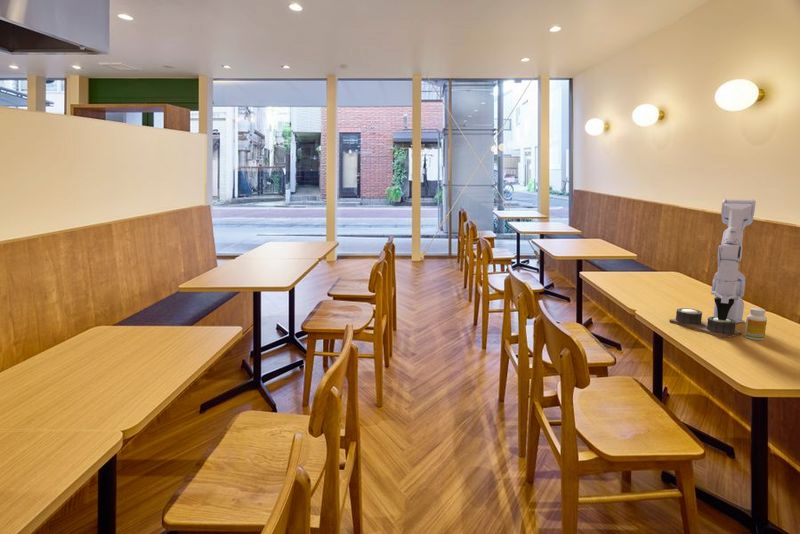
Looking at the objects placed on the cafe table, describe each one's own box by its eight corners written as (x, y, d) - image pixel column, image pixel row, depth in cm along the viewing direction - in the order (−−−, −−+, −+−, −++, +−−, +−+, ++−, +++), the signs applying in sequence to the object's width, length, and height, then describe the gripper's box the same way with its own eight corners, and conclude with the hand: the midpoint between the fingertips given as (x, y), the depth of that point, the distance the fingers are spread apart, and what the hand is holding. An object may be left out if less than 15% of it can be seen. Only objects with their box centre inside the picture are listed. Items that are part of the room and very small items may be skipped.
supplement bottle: (767, 340, 163) (771, 311, 161) (748, 339, 164) (752, 310, 163) (759, 335, 168) (763, 307, 167) (741, 334, 169) (744, 306, 168)
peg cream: (686, 317, 186) (687, 308, 185) (699, 321, 181) (700, 311, 180) (677, 319, 184) (678, 309, 183) (689, 323, 179) (690, 313, 178)
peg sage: (718, 326, 175) (719, 316, 174) (732, 330, 170) (734, 320, 170) (708, 328, 173) (709, 318, 172) (722, 332, 168) (724, 322, 168)
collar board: (686, 319, 188) (688, 307, 187) (741, 334, 170) (742, 321, 169) (669, 321, 184) (670, 309, 184) (722, 337, 166) (724, 324, 165)
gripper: (712, 275, 177) (708, 313, 179) (712, 282, 164) (707, 323, 167) (736, 277, 173) (732, 316, 175) (738, 285, 161) (733, 326, 163)
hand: (721, 319), depth 171 cm, fingers closed, pressing on peg sage
